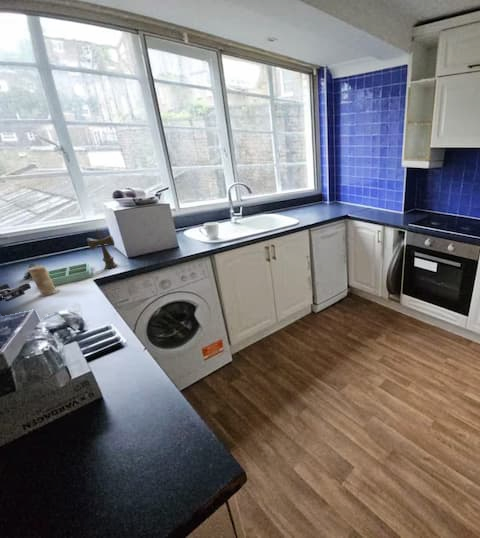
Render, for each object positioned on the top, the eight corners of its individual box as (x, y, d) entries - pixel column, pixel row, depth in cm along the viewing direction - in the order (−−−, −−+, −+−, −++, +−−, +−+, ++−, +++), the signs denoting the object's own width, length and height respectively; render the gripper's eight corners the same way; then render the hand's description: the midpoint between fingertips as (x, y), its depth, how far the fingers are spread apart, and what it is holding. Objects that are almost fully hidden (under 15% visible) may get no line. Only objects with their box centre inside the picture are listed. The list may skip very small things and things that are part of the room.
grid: (46, 287, 131) (42, 281, 130) (49, 277, 142) (46, 271, 141) (90, 277, 140) (88, 271, 139) (90, 268, 151) (88, 262, 150)
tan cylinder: (41, 297, 122) (27, 270, 118) (42, 293, 126) (28, 267, 121) (56, 293, 125) (43, 267, 120) (57, 289, 129) (44, 264, 124)
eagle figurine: (51, 272, 144) (41, 267, 147) (36, 264, 138) (25, 259, 140) (37, 285, 140) (27, 279, 143) (21, 278, 134) (10, 272, 137)
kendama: (100, 267, 151) (83, 230, 143) (123, 263, 156) (108, 226, 148) (99, 271, 146) (82, 232, 138) (123, 266, 151) (108, 229, 143)
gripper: (-47, 317, 101) (5, 294, 116) (-7, 316, 101) (41, 293, 116) (-60, 298, 98) (-5, 277, 113) (-19, 297, 98) (31, 276, 113)
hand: (18, 285), depth 114 cm, fingers open, 8 cm apart
